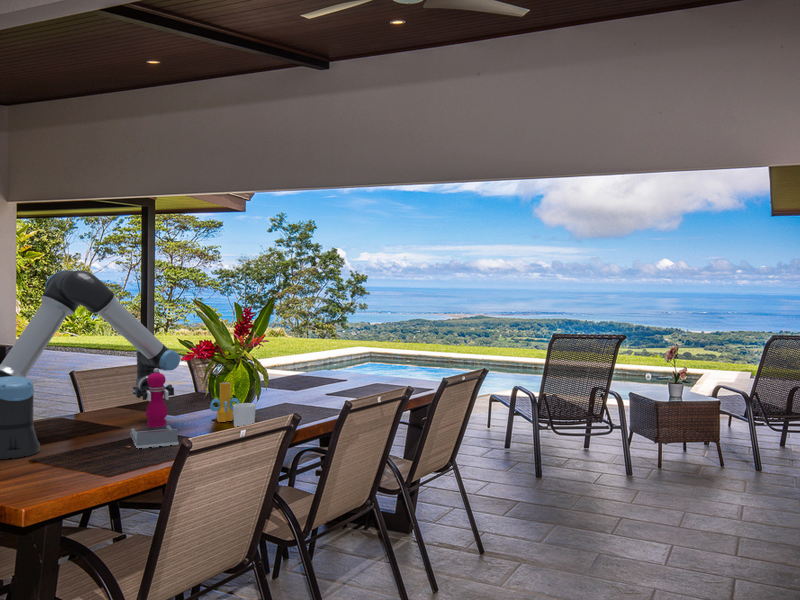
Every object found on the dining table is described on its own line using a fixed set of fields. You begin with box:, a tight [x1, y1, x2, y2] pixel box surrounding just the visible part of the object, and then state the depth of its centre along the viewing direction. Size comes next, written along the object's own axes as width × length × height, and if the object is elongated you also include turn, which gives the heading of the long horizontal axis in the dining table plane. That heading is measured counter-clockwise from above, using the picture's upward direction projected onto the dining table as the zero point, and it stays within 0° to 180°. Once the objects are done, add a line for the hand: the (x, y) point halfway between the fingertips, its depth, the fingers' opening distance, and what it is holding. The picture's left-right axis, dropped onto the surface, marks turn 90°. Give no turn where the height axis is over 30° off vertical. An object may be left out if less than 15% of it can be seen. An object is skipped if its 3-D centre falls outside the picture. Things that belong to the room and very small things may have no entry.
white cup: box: [232, 402, 256, 427], centre depth 240 cm, size 8×8×10 cm
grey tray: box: [129, 424, 179, 450], centre depth 228 cm, size 22×13×5 cm, turn 27°
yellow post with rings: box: [209, 381, 240, 423], centre depth 259 cm, size 12×10×15 cm
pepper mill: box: [145, 368, 169, 428], centre depth 231 cm, size 7×7×20 cm
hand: (158, 396), depth 227 cm, fingers closed on pepper mill, 5 cm apart
